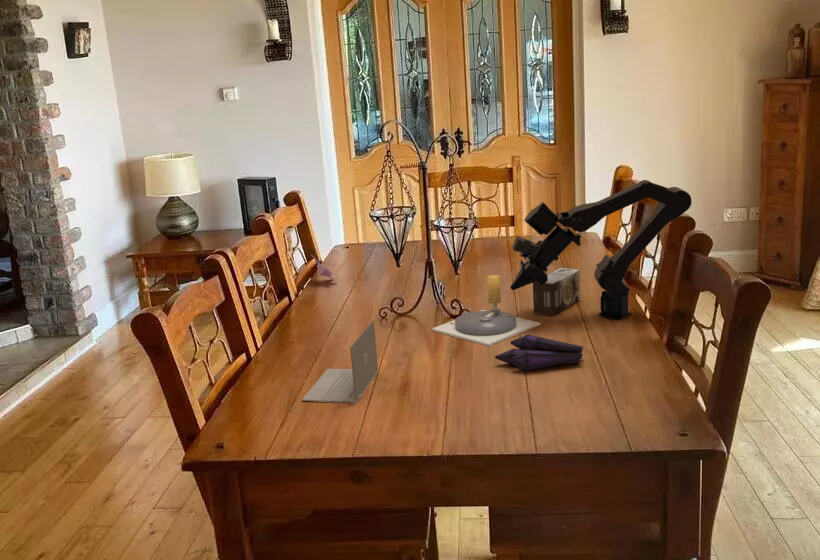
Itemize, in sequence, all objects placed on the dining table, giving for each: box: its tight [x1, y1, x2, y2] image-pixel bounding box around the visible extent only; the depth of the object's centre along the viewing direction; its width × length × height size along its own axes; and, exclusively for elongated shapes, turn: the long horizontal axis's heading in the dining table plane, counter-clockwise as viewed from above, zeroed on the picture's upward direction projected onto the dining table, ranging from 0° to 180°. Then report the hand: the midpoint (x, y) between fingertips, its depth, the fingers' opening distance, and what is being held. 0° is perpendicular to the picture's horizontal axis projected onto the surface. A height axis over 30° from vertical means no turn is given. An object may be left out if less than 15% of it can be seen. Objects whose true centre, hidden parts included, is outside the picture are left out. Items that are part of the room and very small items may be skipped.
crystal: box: [494, 334, 584, 372], centre depth 189 cm, size 7×12×20 cm
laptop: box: [301, 319, 379, 404], centre depth 183 cm, size 18×12×13 cm
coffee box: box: [532, 267, 581, 316], centre depth 229 cm, size 9×6×16 cm
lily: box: [310, 254, 337, 287], centre depth 269 cm, size 12×12×10 cm
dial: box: [454, 274, 517, 335], centre depth 215 cm, size 16×16×12 cm
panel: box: [431, 309, 541, 347], centre depth 217 cm, size 20×20×1 cm
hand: (511, 288), depth 219 cm, fingers closed
